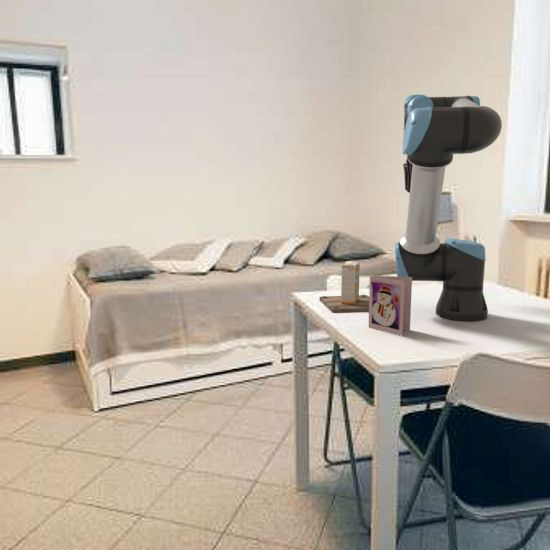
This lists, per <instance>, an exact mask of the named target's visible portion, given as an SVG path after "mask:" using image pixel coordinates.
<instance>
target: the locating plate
mask: <svg viewBox="0 0 550 550" xmlns="http://www.w3.org/2000/svg"><path fill="white" fill-rule="evenodd" d="M319 301H320V302H321V303H322V304H323V305H324V306H325V307H326V308H327V309H328V310H329V311H330V312H331V313H351V312H352V313H355V312H356V313H357V312H358V313H359V312H369V295H367V294H359V299H358V300H357V301H356V303H355V304H344V303H341V295H339V296H338V295H334V296H333V295H331V296H330V295H329V296H328V295H327V296H326V295H323V296H319Z"/></svg>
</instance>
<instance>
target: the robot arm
mask: <svg viewBox="0 0 550 550" xmlns="http://www.w3.org/2000/svg"><path fill="white" fill-rule="evenodd" d="M403 105H404V106H403V108H404V111H403V112H404V114H403V116H404V118H403V119H404V120H403V131H402V133H403V135H402V154H403V155H406V161H405V163H403V165H402V167H403V170H404V171H403V173H404V190H405V191H406V192H407V203H406V205H407V206H406V207H407V208H406V209H407V210H406V212H407V219H406V220H407V221H406V231H405V233H404V234H402V235H401V237H400V240H399V241H398V242H395V243H394V253H395V254H394V255H395V265H396V277H412V282H415V281H416V282H419V281H420V282H442V291H441V293H440V296H439V298H438V301H437V303H436V306H435V315H437V317H440V318H444V319H447V320H454V321H461V322H464V321H465V322H475V321H477V322H478V321H484V320H485V319H487V318H488V314H489V311H488V310H489V309H488V306H487V302H486V299H485V295H484V281H485V265H486V260H487V259H486V247H485V245H483V244H482V243H480V242H476V241H472V240H467V239H460V238H449V237H448V238H445V240H444V242H443V243H441V241H440V239H439V237H438V236H437V229H438V222H439V215H440V210H441V203H442V194H443V188H444V187H443V186H444V180H445V173H446V172H445V171H446V167H447V166H449V165H450V164H451V163H452V162H453V159H454V155H464V154H466V155H467V154H472V153H473V154H474V153H477V152H480V151H483V150H484V149H487V148H488V147H490V146H492V144H494V143H495V141H496V140H497V139H498V137H499V136H500V134H501V132H502V125H503V123H502V119H501V116H500V115H499V113H498V112H497V111H496V110H495V109H493V108H491V107H489V106H487V105H486V106H483V105H482V106H481V101H480V98H479V96H476V95H461V96H459V95H457V96H427V95H424V94H410V95H407V96H406V97H405V98H404V104H403Z"/></svg>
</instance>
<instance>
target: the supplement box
mask: <svg viewBox="0 0 550 550" xmlns="http://www.w3.org/2000/svg"><path fill="white" fill-rule="evenodd" d="M360 264H361V262H360V261H345V262H343V263H342V264H341V286H340V287H341V288H340V289H341V290H340V291H341V292H340V293H341V295H340V296H341V303H344V304H355V303H356V301H357V300H358V299H359V295H360Z"/></svg>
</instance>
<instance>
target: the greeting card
mask: <svg viewBox="0 0 550 550" xmlns="http://www.w3.org/2000/svg"><path fill="white" fill-rule="evenodd" d="M412 285H413V281H412V277H398V276H395V275H394V276H390V275H388V276H387V275H369V293H368V294H369V295H368V296H369V311H368V328H369V329H374V330H376V331H380V330H381V331H380V332H384V331H386V332H385V333H388V332H390V333H389V334H392V333H394V334H393V335H396V334H398V335H397V336H400V335H402V336H403V331H404V330H403V329H407V330H406V331H411V316H412V315H411V313H412V311H411V310H412V287H413V286H412Z"/></svg>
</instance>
